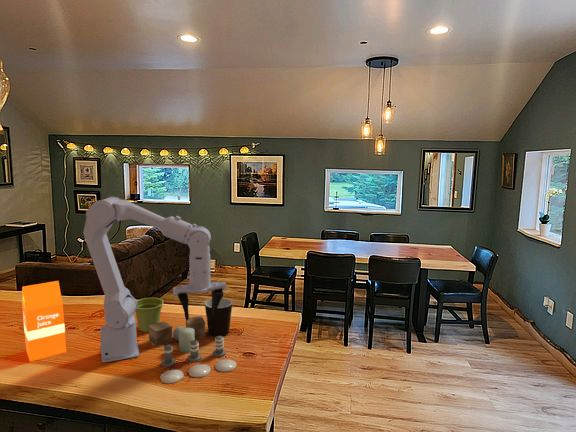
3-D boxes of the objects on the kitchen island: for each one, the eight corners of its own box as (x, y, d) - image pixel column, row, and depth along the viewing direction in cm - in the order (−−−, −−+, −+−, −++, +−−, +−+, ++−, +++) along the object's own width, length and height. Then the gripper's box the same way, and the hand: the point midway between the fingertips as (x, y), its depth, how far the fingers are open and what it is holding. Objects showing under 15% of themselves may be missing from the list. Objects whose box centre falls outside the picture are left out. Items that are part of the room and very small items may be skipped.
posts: (162, 368, 104) (161, 350, 103) (160, 361, 107) (160, 344, 106) (227, 355, 111) (227, 339, 110) (224, 349, 114) (223, 333, 113)
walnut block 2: (188, 339, 120) (188, 324, 119) (186, 333, 124) (185, 318, 124) (205, 337, 122) (205, 322, 121) (201, 330, 126) (201, 315, 126)
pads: (161, 385, 96) (161, 383, 96) (159, 373, 101) (159, 372, 101) (238, 369, 104) (238, 367, 104) (233, 359, 109) (233, 357, 109)
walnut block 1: (156, 347, 115) (156, 331, 114) (149, 341, 119) (148, 325, 118) (172, 341, 118) (172, 326, 118) (164, 336, 122) (164, 321, 121)
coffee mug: (226, 340, 120) (226, 309, 118) (200, 337, 122) (200, 306, 120) (239, 324, 131) (239, 296, 130) (214, 321, 133) (214, 293, 131)
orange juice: (25, 350, 111) (19, 283, 108) (61, 341, 117) (56, 277, 114) (29, 362, 105) (23, 290, 102) (66, 352, 111) (61, 284, 108)
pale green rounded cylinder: (180, 353, 112) (180, 335, 111) (178, 346, 115) (177, 329, 115) (196, 350, 113) (195, 333, 112) (193, 344, 117) (192, 326, 116)
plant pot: (167, 322, 132) (166, 297, 130) (159, 335, 123) (158, 308, 121) (139, 322, 132) (138, 297, 130) (129, 334, 122) (127, 308, 121)
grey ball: (174, 343, 117) (173, 331, 117) (172, 337, 121) (172, 325, 120) (187, 341, 119) (187, 328, 118) (185, 335, 122) (185, 323, 122)
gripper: (175, 277, 103) (176, 326, 105) (229, 272, 109) (229, 318, 111) (171, 270, 110) (172, 316, 112) (222, 265, 115) (222, 309, 118)
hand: (200, 316), depth 112 cm, fingers open, 7 cm apart
